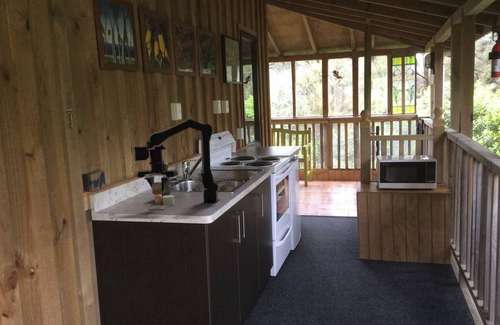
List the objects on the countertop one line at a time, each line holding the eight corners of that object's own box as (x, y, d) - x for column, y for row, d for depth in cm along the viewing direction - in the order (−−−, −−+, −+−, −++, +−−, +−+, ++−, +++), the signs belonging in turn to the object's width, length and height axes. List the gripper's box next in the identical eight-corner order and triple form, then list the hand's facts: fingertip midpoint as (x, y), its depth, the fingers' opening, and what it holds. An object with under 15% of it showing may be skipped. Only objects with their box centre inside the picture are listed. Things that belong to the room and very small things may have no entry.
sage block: (174, 202, 231) (173, 195, 230) (173, 204, 226) (172, 197, 225) (164, 203, 230) (163, 195, 230) (163, 205, 226) (162, 197, 225)
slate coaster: (170, 206, 223) (170, 204, 223) (164, 209, 215) (164, 208, 215) (155, 206, 224) (155, 204, 224) (148, 209, 217) (148, 208, 217)
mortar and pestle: (149, 200, 239) (148, 178, 237) (161, 196, 247) (160, 175, 245) (166, 201, 233) (164, 179, 231) (177, 198, 241) (176, 176, 239)
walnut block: (161, 194, 216) (160, 183, 215) (152, 194, 217) (151, 183, 216) (165, 192, 220) (164, 182, 220) (156, 192, 221) (155, 182, 221)
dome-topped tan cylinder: (163, 202, 231) (162, 194, 230) (161, 204, 227) (160, 195, 226) (156, 203, 231) (155, 194, 230) (154, 205, 227) (153, 196, 226)
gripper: (180, 156, 222) (182, 187, 224) (145, 157, 226) (147, 188, 228) (172, 159, 212) (174, 192, 214) (135, 160, 215) (138, 192, 218)
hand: (158, 191), depth 219 cm, fingers closed on walnut block, 4 cm apart
